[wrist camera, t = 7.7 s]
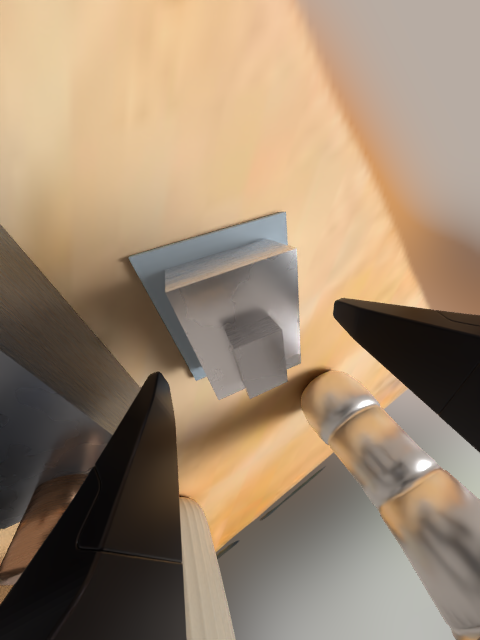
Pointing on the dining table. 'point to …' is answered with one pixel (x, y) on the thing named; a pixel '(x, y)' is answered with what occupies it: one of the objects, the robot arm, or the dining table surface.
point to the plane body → (48, 404)
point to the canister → (202, 578)
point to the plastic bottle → (405, 494)
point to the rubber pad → (168, 256)
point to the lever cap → (240, 314)
